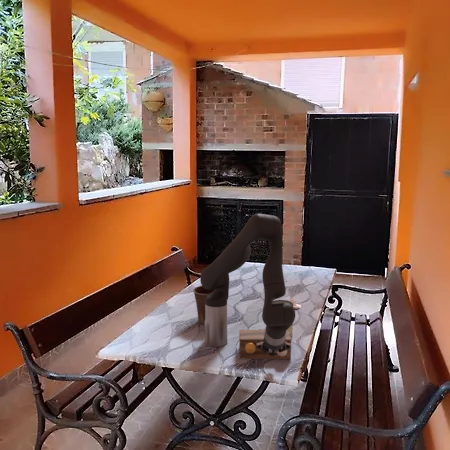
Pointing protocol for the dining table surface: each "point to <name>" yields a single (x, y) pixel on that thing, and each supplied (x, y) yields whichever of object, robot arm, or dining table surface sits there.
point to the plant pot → (201, 302)
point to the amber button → (250, 347)
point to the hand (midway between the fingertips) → (272, 353)
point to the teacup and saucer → (295, 303)
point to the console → (254, 337)
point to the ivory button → (282, 353)
